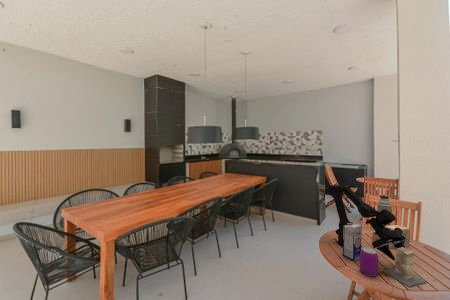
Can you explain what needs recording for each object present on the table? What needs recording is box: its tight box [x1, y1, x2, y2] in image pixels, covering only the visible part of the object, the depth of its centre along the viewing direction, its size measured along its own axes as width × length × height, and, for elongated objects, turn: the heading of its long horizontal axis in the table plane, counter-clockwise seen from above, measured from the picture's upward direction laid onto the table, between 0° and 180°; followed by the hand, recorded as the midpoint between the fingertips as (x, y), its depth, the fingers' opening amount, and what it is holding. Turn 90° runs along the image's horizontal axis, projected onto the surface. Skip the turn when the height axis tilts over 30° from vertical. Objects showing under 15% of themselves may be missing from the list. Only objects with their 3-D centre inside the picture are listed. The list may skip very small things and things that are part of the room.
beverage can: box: [359, 246, 379, 277], centre depth 107 cm, size 8×8×12 cm
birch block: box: [394, 247, 415, 280], centre depth 104 cm, size 5×5×13 cm
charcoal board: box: [382, 267, 428, 288], centre depth 104 cm, size 12×12×1 cm
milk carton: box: [342, 222, 363, 262], centre depth 122 cm, size 7×7×20 cm
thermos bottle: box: [376, 195, 392, 226], centre depth 152 cm, size 8×8×28 cm
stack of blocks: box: [371, 224, 411, 249], centre depth 135 cm, size 21×6×12 cm, turn 98°
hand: (400, 258), depth 105 cm, fingers open, 9 cm apart
